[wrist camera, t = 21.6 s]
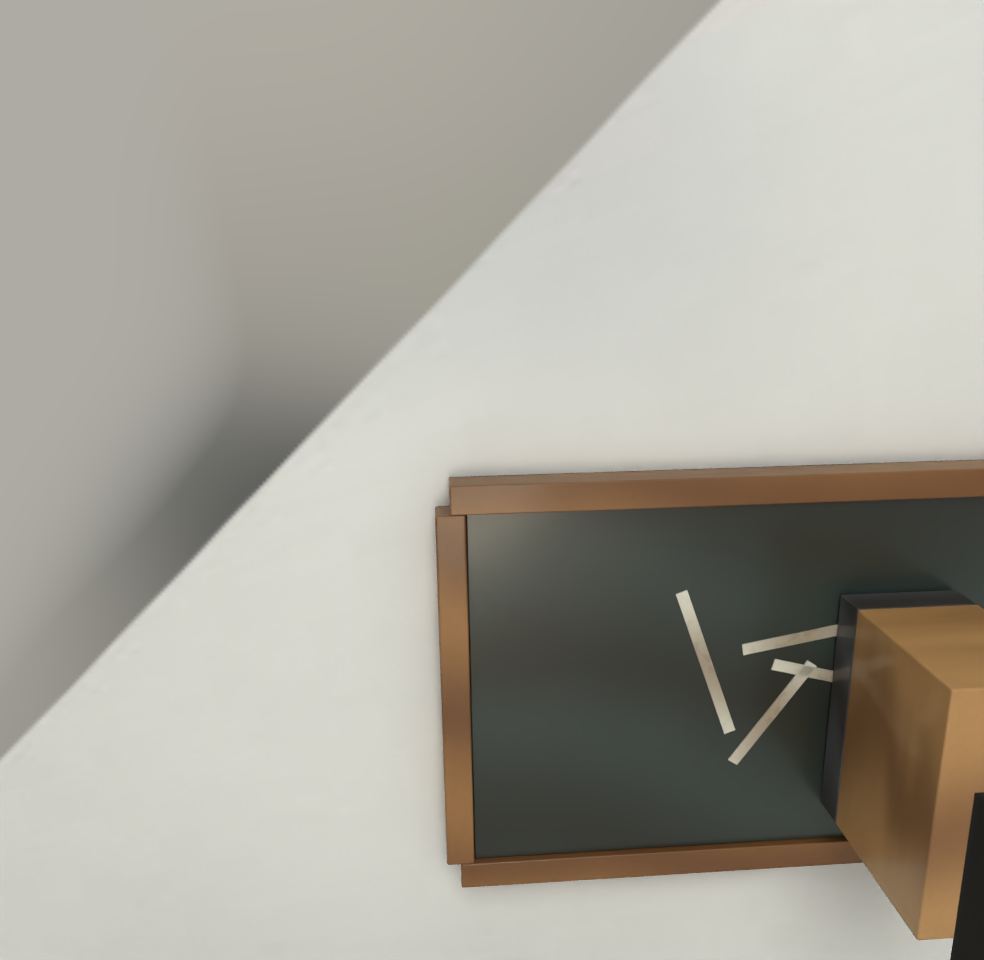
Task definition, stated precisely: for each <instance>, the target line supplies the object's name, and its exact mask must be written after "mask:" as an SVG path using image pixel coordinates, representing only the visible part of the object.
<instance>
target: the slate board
mask: <svg viewBox="0 0 984 960" xmlns="http://www.w3.org/2000/svg"><path fill="white" fill-rule="evenodd" d="M449 497H450V506H437V507H436V508H435V526H436V555H437V584H438V612H439V641H440V669H441V698H442V727H443V755H444V784H445V812H446V841H447V863H448V865H454V864H461V883H462V887H479V886H495V885H511V884H527V883H543V882H559V881H575V880H591V879H607V878H623V877H639V876H654V875H670V874H686V873H702V872H718V871H734V870H750V869H766V868H782V867H798V866H814V865H830V864H846V863H862V860H861V859H860V857H859V856H858V854H857V853H856V852H855V850H854V849H853V847H852V846H851V844H850V843H849V841H848V840H847V839H846V837H845V836H844V834H843V833H842V831H841V830H840V829H839V827H838V826H837V824H836V822H834V820H833V819H832V817H831V816H830V815H829V813H828V812H827V810H826V809H825V807H824V806H823V805H822V803H821V791H822V781H823V771H824V761H825V751H826V740H827V730H828V720H829V710H830V700H831V690H832V680H833V670H834V660H835V650H836V640H837V630H838V619H839V609H840V599H841V595H851V594H875V593H899V592H923V591H947V590H956V591H958V592H959V593H961V594H962V595H964V596H965V597H967V598H968V599H970V600H972V601H973V602H975V603H976V604H977V605H979V606H980V607H982V608H983V609H984V460H957V461H927V462H897V463H866V464H836V465H806V466H776V467H745V468H715V469H685V470H654V471H624V472H594V473H563V474H533V475H503V476H472V477H450V478H449Z"/></svg>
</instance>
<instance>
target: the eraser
mask: <svg viewBox="0 0 984 960" xmlns="http://www.w3.org/2000/svg"><path fill="white" fill-rule="evenodd" d="M980 792H984V609H983V608H982V607H980V606H979V605H977V604H976V603H975V602H973V601H972V600H970V599H968V598H967V597H965V596H964V595H962V594H961V593H959V592H958V591H956V590H947V591H923V592H899V593H875V594H851V595H841V599H840V609H839V619H838V630H837V640H836V650H835V660H834V670H833V680H832V690H831V700H830V710H829V720H828V730H827V740H826V751H825V761H824V771H823V781H822V791H821V803H822V805H823V806H824V807H825V809H826V810H827V812H828V813H829V815H830V816H831V817H832V819H833V820H834V822H836V824H837V826H838V827H839V829H840V830H841V831H842V833H843V834H844V836H845V837H846V839H847V840H848V841H849V843H850V844H851V846H852V847H853V849H854V850H855V852H856V853H857V854H858V856H859V857H860V859H861V860H862V862H863V863H864V864H865V866H866V867H867V869H868V870H869V872H870V873H871V874H872V876H873V877H874V879H875V880H876V882H877V883H878V884H879V886H880V887H881V889H882V890H883V892H884V893H885V895H886V896H887V897H888V899H889V900H890V902H891V903H892V905H893V906H894V907H895V909H896V910H897V912H898V913H899V915H900V916H901V917H902V919H903V920H904V922H905V923H906V925H907V926H908V927H909V929H910V930H911V932H912V933H913V935H914V936H915V938H916V939H917V940H928V939H943V938H954V931H955V925H956V918H957V911H958V904H959V897H960V890H961V883H962V877H963V870H964V863H965V856H966V849H967V842H968V835H969V828H970V822H971V815H972V808H973V801H974V794H975V793H980Z"/></svg>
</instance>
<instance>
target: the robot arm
mask: <svg viewBox="0 0 984 960" xmlns="http://www.w3.org/2000/svg"><path fill="white" fill-rule="evenodd" d="M950 960H984V792H980V793H975V794H974V801H973V808H972V815H971V822H970V828H969V835H968V842H967V849H966V856H965V863H964V870H963V877H962V883H961V890H960V897H959V904H958V911H957V918H956V925H955V931H954V938H953V945H952V952H951V959H950Z"/></svg>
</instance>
